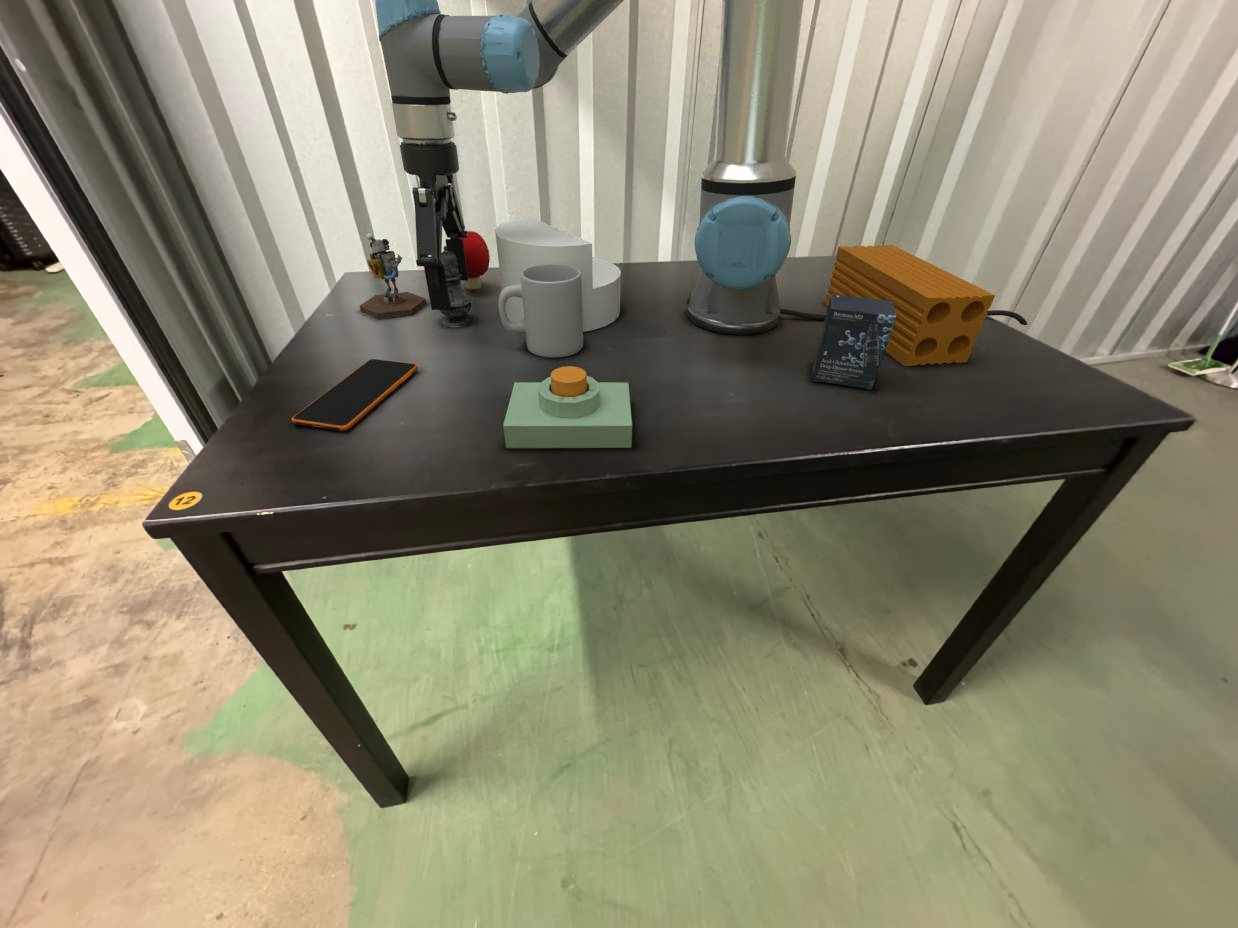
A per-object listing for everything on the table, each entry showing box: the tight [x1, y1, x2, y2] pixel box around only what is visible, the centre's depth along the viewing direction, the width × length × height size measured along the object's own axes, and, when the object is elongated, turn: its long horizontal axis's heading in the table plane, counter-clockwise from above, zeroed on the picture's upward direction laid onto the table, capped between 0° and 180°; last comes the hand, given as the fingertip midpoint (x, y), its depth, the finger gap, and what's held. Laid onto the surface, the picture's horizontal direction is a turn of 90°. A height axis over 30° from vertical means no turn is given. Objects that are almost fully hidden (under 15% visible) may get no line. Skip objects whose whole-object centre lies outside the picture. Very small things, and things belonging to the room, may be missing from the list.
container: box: [494, 216, 622, 333], centre depth 91 cm, size 20×20×13 cm
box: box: [812, 294, 896, 391], centre depth 73 cm, size 8×6×11 cm
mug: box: [498, 264, 584, 359], centre depth 80 cm, size 12×8×11 cm
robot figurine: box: [359, 233, 427, 320], centre depth 91 cm, size 11×9×12 cm
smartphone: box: [290, 358, 419, 431], centre depth 70 cm, size 8×17×1 cm, turn 167°
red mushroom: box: [460, 230, 491, 292], centre depth 100 cm, size 9×7×10 cm
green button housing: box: [502, 375, 633, 449], centre depth 64 cm, size 14×10×5 cm
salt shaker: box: [439, 245, 475, 329], centre depth 87 cm, size 6×6×12 cm
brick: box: [824, 244, 996, 367], centre depth 87 cm, size 26×10×10 cm, turn 9°
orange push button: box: [550, 365, 588, 397], centre depth 62 cm, size 4×4×2 cm
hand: (451, 293), depth 88 cm, fingers open, 13 cm apart
